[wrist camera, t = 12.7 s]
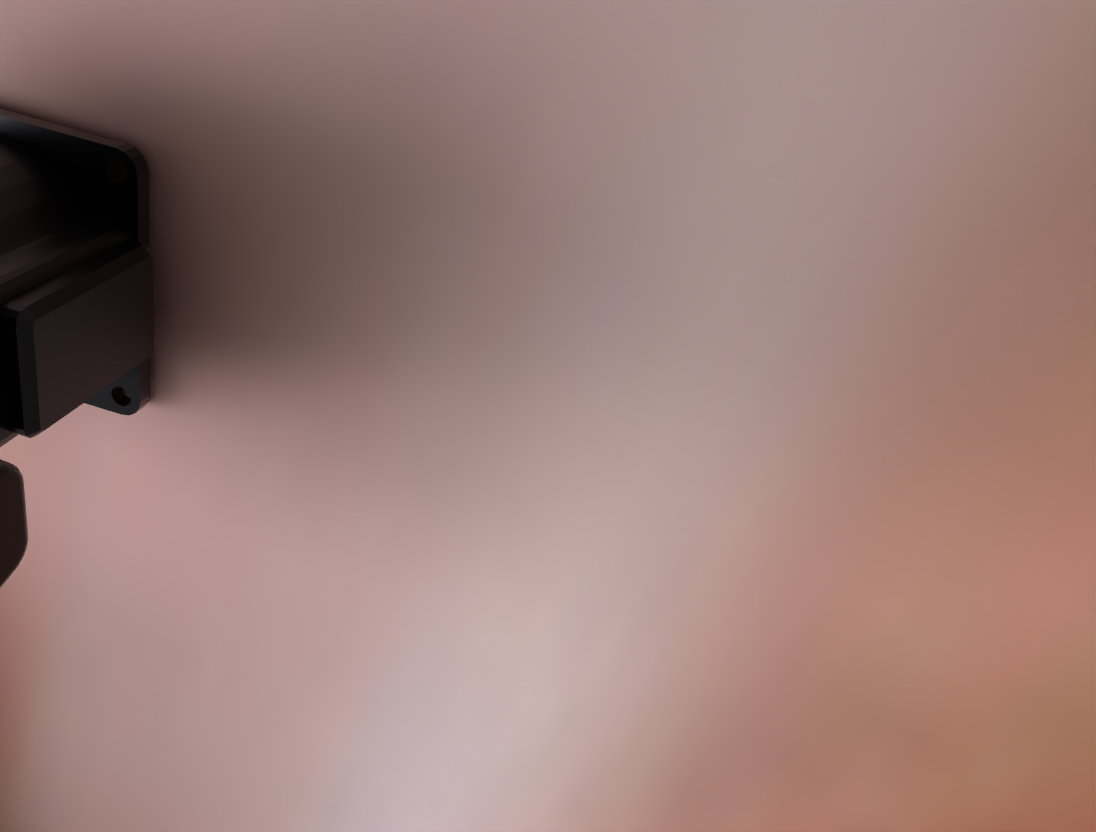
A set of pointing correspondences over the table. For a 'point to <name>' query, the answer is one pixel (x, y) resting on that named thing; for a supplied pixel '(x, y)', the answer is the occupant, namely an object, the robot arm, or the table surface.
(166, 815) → the table surface
